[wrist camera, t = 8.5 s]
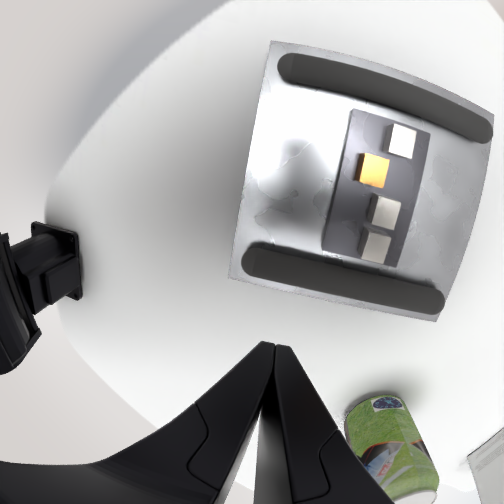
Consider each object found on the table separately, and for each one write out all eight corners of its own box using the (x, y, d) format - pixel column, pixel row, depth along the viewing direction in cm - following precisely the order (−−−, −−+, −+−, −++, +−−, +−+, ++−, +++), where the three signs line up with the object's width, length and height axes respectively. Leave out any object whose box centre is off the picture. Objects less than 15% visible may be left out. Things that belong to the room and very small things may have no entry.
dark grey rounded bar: (276, 82, 13) (272, 74, 12) (281, 56, 13) (278, 46, 11) (481, 147, 12) (496, 148, 11) (485, 123, 12) (499, 122, 10)
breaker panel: (236, 262, 20) (219, 292, 16) (275, 54, 15) (266, 26, 11) (424, 304, 19) (446, 338, 14) (475, 117, 14) (512, 112, 9)
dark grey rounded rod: (241, 266, 17) (235, 277, 16) (246, 241, 17) (240, 250, 15) (433, 308, 16) (442, 321, 14) (442, 286, 15) (452, 298, 14)
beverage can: (332, 425, 24) (331, 534, 13) (368, 374, 21) (387, 502, 10) (386, 431, 23) (399, 530, 12) (426, 383, 21) (460, 493, 10)
